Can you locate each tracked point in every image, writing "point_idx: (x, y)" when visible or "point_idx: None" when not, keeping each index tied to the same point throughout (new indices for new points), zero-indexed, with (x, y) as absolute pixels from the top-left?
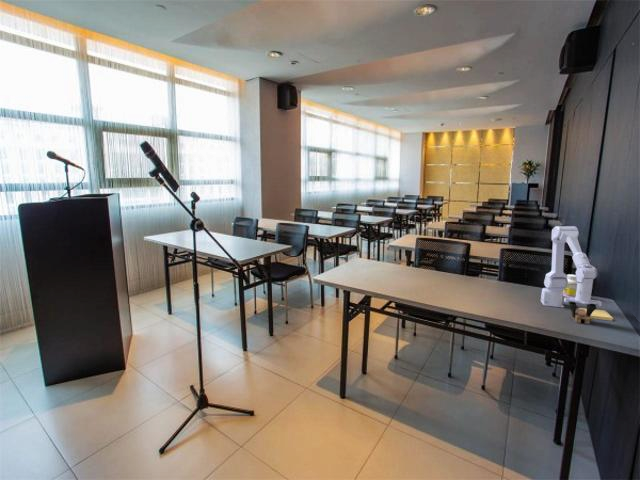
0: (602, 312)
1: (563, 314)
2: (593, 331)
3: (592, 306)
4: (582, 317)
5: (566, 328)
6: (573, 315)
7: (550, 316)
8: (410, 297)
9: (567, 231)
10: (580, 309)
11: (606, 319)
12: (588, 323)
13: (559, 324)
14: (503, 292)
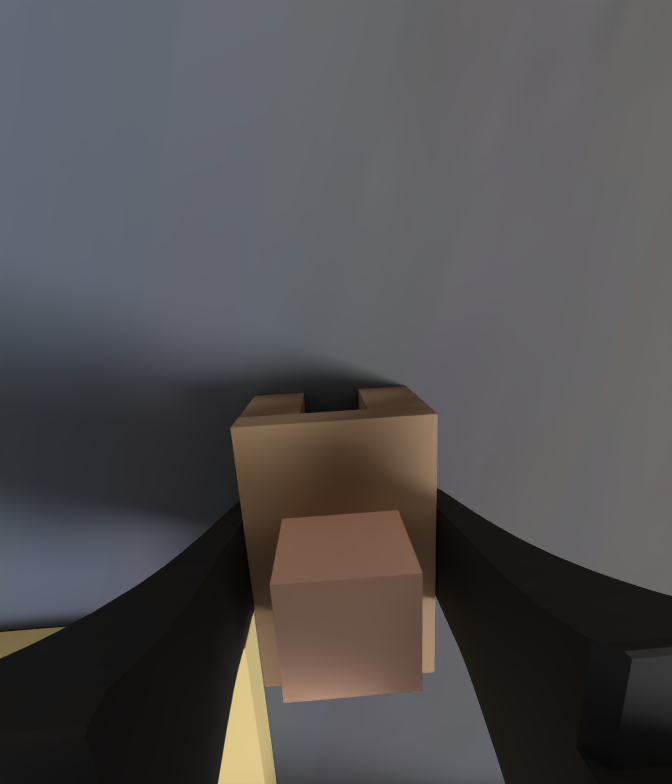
0: None
1: None
2: (251, 97)
3: (18, 766)
4: (350, 419)
5: (624, 61)
6: (453, 499)
7: (663, 488)
8: None
9: None
10: (359, 659)
11: (18, 638)
12: (260, 398)
13: (663, 213)
14: None
